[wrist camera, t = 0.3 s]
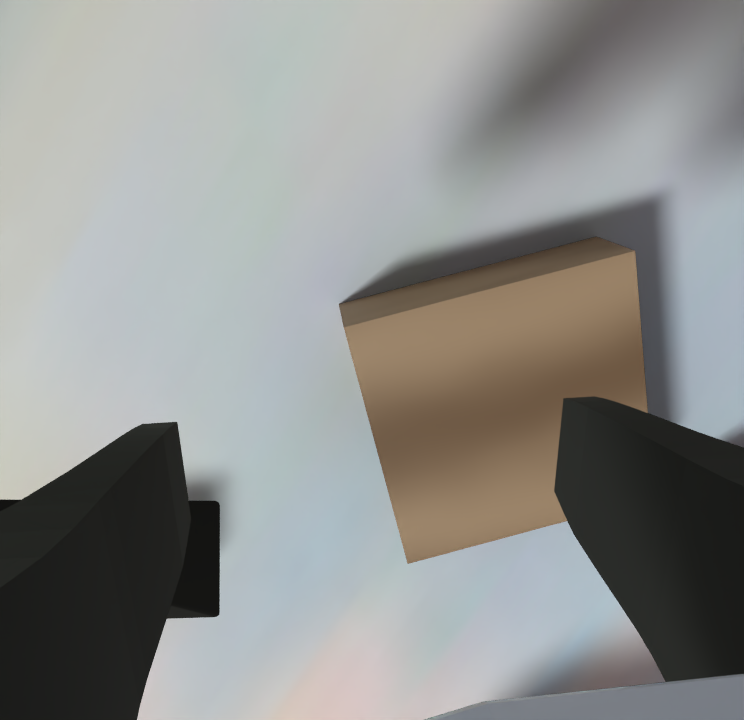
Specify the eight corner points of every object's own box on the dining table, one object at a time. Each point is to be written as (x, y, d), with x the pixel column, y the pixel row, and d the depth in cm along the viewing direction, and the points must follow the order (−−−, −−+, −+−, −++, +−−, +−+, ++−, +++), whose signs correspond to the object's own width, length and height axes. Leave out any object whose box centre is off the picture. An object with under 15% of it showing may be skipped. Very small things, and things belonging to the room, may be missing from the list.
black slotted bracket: (262, 475, 23) (253, 553, 19) (260, 626, 26) (252, 725, 22) (-94, 473, 22) (-191, 557, 17) (-59, 634, 24) (-136, 742, 20)
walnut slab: (613, 455, 24) (654, 497, 22) (395, 513, 24) (407, 563, 22) (590, 234, 21) (635, 250, 18) (338, 300, 21) (343, 327, 18)
